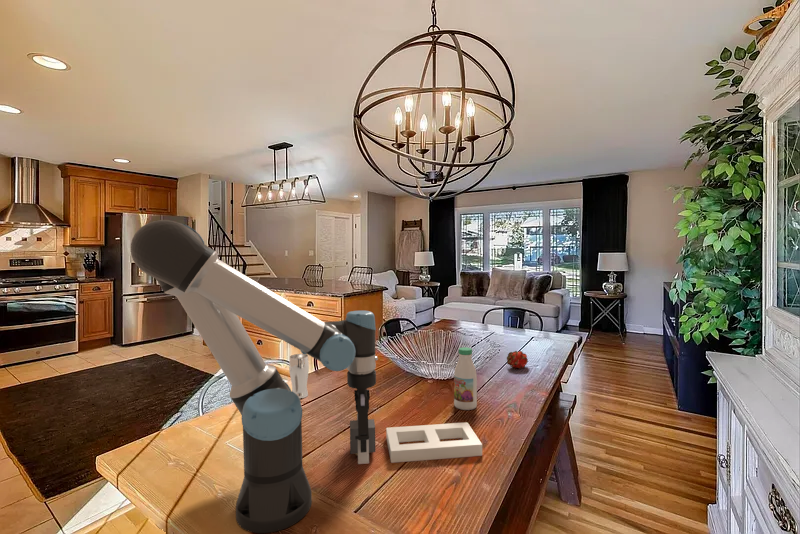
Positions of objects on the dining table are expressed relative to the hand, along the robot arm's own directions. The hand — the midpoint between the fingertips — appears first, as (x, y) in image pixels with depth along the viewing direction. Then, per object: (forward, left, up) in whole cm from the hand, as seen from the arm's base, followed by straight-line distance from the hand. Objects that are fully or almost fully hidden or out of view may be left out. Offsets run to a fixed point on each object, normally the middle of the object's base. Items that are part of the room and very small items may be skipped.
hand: (362, 448), depth 102 cm
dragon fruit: (+64, -72, -2) cm, 96 cm away
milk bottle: (+26, -36, -2) cm, 44 cm away
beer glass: (+44, +22, -1) cm, 49 cm away
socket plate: (+1, -19, -1) cm, 19 cm away
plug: (0, 0, -1) cm, 1 cm away
